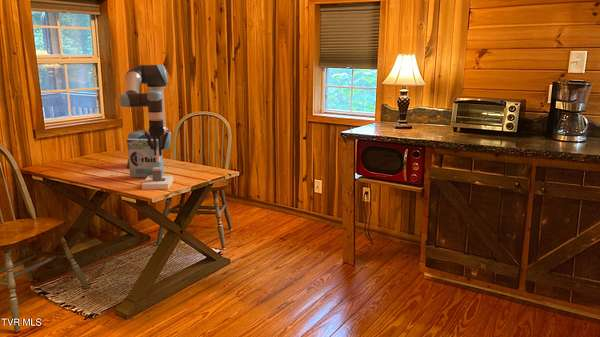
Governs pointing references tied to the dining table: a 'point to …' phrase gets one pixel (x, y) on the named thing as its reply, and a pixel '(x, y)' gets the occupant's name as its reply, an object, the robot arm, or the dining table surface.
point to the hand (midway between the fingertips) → (158, 161)
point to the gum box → (142, 158)
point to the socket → (157, 183)
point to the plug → (157, 174)
